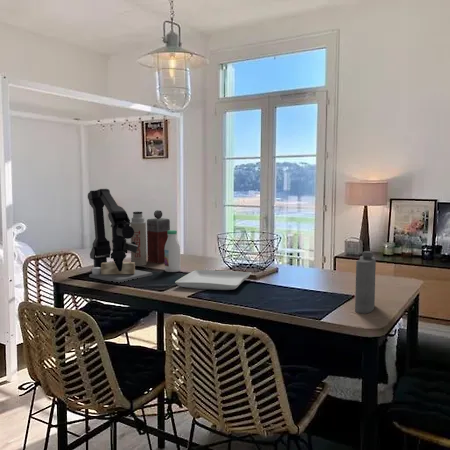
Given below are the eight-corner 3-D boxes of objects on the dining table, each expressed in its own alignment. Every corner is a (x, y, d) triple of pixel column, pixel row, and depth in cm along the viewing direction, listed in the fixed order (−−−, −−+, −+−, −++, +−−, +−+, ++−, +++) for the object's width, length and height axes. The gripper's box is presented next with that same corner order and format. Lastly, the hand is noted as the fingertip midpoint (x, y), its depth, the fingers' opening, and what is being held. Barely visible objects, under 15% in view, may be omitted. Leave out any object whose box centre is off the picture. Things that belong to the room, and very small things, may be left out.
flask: (371, 314, 158) (373, 255, 156) (354, 312, 160) (355, 254, 158) (376, 303, 172) (377, 249, 170) (359, 302, 174) (361, 248, 172)
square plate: (252, 279, 214) (252, 271, 214) (237, 294, 188) (237, 284, 188) (195, 276, 221) (195, 268, 221) (174, 290, 195) (173, 280, 195)
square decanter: (157, 258, 267) (156, 209, 264) (170, 261, 259) (169, 210, 256) (144, 261, 260) (143, 210, 257) (158, 263, 253) (157, 211, 250)
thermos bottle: (142, 266, 245) (141, 212, 242) (128, 265, 247) (127, 212, 244) (149, 263, 252) (148, 211, 250) (135, 262, 255) (134, 211, 252)
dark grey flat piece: (87, 276, 220) (86, 265, 219) (120, 269, 236) (120, 259, 235) (118, 282, 207) (118, 271, 206) (152, 275, 223) (152, 264, 222)
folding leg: (101, 274, 218) (101, 263, 217) (102, 273, 221) (102, 262, 220) (134, 274, 218) (133, 263, 218) (135, 272, 221) (134, 262, 220)
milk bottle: (181, 269, 236) (181, 229, 234) (178, 272, 229) (178, 231, 227) (166, 269, 237) (166, 229, 235) (163, 272, 229) (162, 231, 227)
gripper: (135, 238, 206) (137, 274, 208) (137, 234, 225) (138, 267, 226) (109, 239, 205) (111, 275, 206) (113, 235, 223) (114, 268, 224)
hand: (120, 271), depth 216 cm, fingers closed
